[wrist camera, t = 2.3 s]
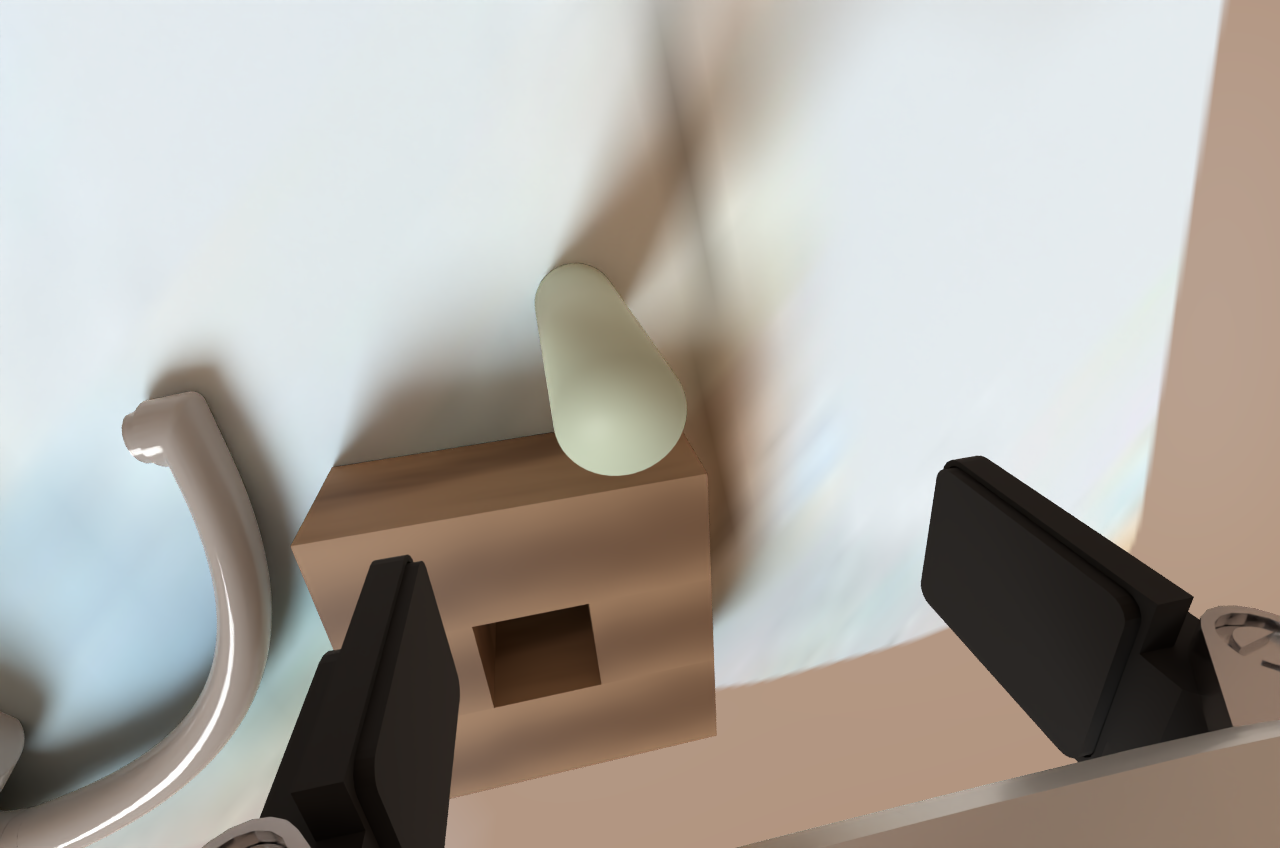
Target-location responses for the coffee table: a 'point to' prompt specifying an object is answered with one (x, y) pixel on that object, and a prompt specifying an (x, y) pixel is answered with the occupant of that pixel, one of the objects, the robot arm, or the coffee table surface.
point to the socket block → (538, 595)
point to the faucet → (215, 494)
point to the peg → (604, 376)
